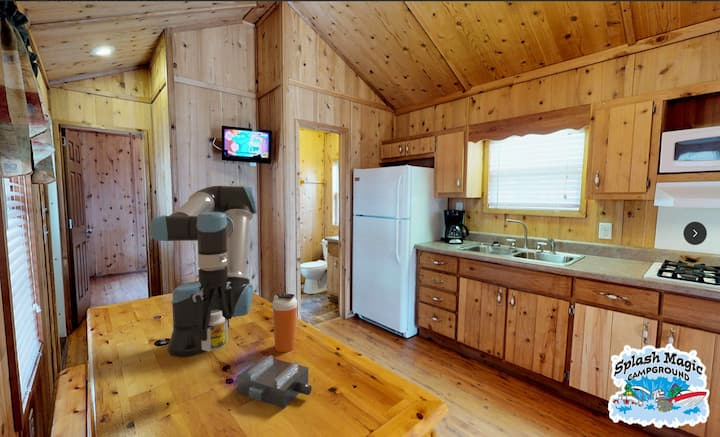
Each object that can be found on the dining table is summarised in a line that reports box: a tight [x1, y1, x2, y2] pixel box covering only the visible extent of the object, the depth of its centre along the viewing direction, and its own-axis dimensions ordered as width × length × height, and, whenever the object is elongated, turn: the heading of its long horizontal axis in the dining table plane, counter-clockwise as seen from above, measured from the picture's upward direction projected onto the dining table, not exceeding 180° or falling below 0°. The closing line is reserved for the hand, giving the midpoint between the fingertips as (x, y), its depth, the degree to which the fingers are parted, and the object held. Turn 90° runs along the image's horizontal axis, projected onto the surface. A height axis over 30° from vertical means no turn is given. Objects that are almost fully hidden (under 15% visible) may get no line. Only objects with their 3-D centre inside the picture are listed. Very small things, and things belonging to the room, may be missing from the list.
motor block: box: [236, 354, 313, 409], centre depth 90 cm, size 20×14×6 cm
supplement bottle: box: [208, 310, 227, 351], centre depth 91 cm, size 6×6×10 cm
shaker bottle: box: [271, 291, 298, 353], centre depth 115 cm, size 9×9×20 cm
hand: (215, 344), depth 92 cm, fingers closed on supplement bottle, 6 cm apart
